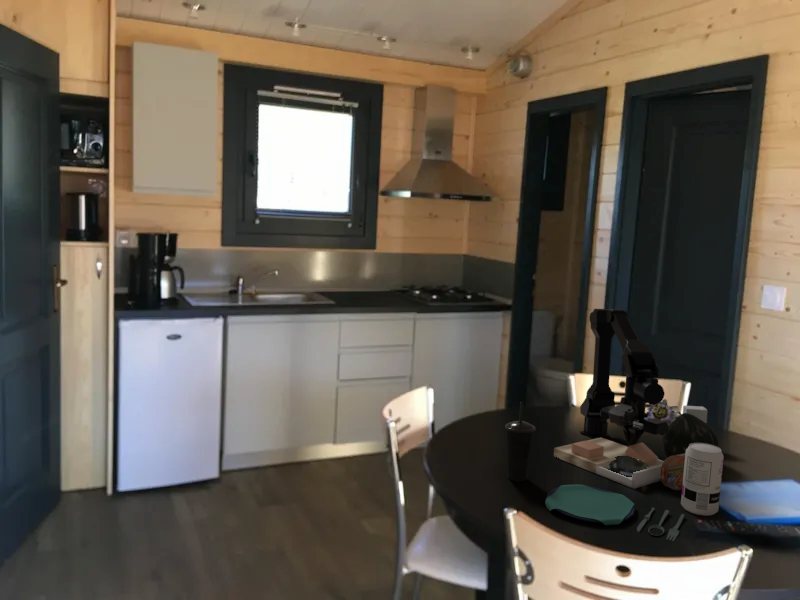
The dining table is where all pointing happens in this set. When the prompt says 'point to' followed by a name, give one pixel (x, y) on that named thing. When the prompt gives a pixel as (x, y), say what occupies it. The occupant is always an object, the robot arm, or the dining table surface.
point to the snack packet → (673, 471)
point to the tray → (634, 475)
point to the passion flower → (663, 412)
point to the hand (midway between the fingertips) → (630, 449)
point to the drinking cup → (518, 447)
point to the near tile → (587, 449)
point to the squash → (687, 434)
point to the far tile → (641, 453)
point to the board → (590, 464)
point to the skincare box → (696, 412)
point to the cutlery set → (600, 507)
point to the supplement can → (702, 479)
